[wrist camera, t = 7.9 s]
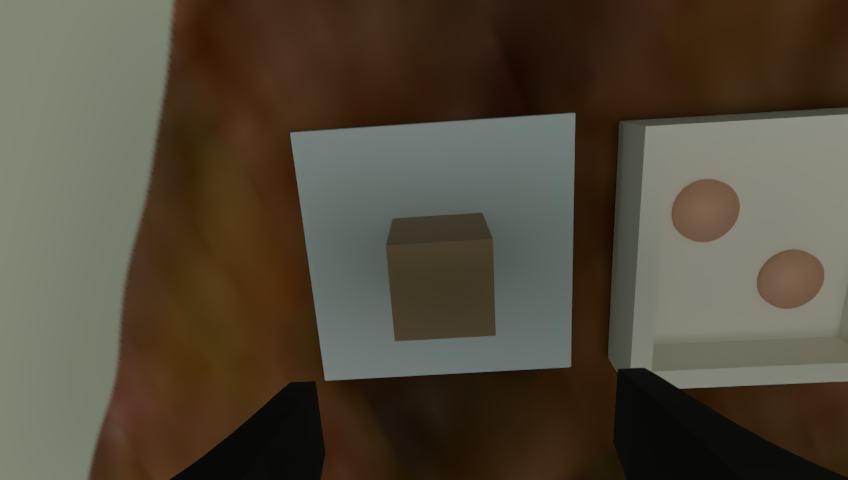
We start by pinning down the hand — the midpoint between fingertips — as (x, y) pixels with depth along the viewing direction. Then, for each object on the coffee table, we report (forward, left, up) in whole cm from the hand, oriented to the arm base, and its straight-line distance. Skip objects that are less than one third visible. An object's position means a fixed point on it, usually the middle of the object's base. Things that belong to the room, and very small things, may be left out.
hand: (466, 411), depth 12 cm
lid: (+1, -1, -10) cm, 10 cm away
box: (-11, -1, -9) cm, 15 cm away
